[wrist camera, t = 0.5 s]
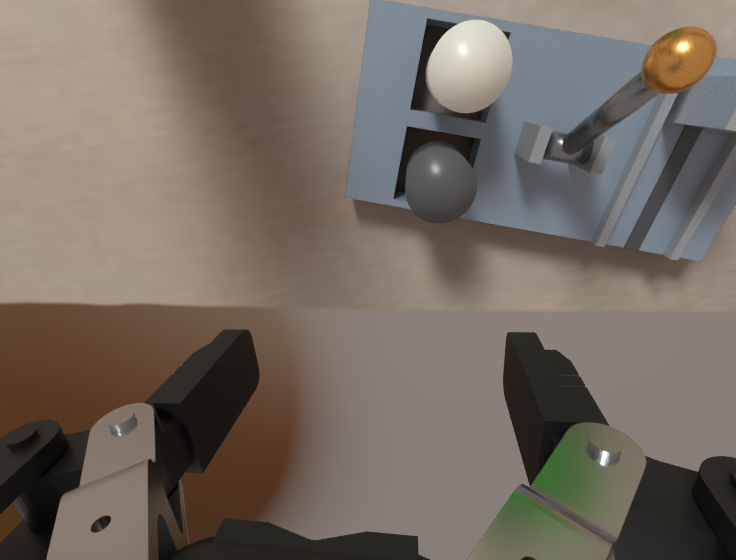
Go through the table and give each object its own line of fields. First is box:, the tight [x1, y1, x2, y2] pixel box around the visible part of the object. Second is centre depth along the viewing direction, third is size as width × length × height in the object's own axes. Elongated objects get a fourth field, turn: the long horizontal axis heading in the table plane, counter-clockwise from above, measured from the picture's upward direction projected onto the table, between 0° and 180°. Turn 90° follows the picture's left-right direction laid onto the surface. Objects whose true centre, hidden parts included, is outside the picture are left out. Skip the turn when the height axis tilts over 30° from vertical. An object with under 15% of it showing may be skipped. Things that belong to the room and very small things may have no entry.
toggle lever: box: [542, 27, 717, 166], centre depth 18 cm, size 2×2×10 cm
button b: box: [405, 141, 477, 223], centre depth 24 cm, size 4×4×5 cm
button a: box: [425, 20, 513, 113], centre depth 21 cm, size 4×4×5 cm
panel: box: [345, 0, 736, 261], centre depth 24 cm, size 12×26×6 cm, turn 81°
